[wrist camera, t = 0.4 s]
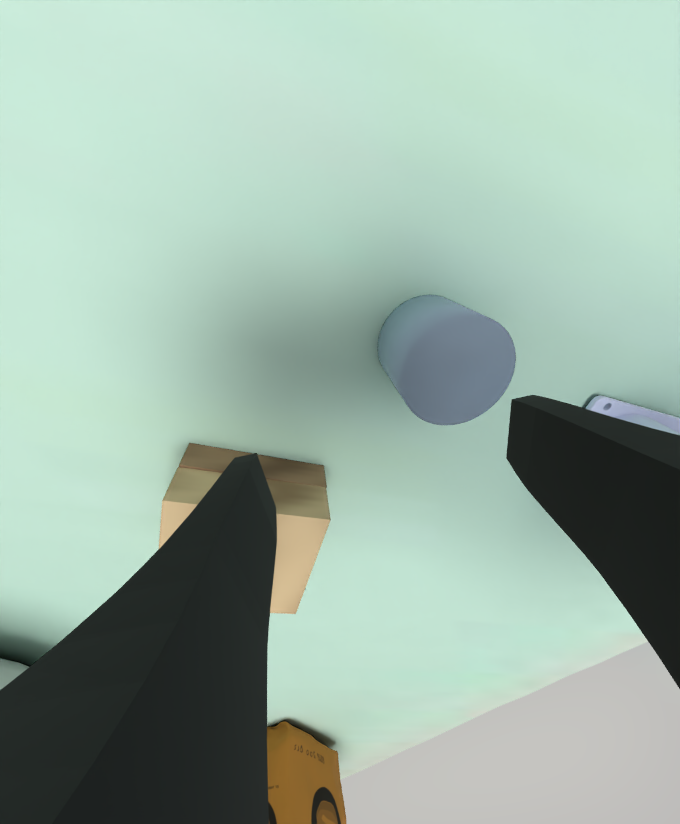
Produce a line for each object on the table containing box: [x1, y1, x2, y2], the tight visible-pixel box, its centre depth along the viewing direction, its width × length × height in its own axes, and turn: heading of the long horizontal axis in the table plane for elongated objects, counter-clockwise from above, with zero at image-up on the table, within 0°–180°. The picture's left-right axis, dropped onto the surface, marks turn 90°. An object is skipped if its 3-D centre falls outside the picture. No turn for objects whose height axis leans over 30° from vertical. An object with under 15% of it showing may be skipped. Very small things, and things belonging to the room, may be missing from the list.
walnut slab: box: [179, 443, 327, 487], centre depth 21 cm, size 8×8×2 cm
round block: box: [378, 295, 516, 425], centre depth 16 cm, size 5×5×4 cm
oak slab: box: [159, 467, 330, 614], centre depth 19 cm, size 8×8×2 cm
